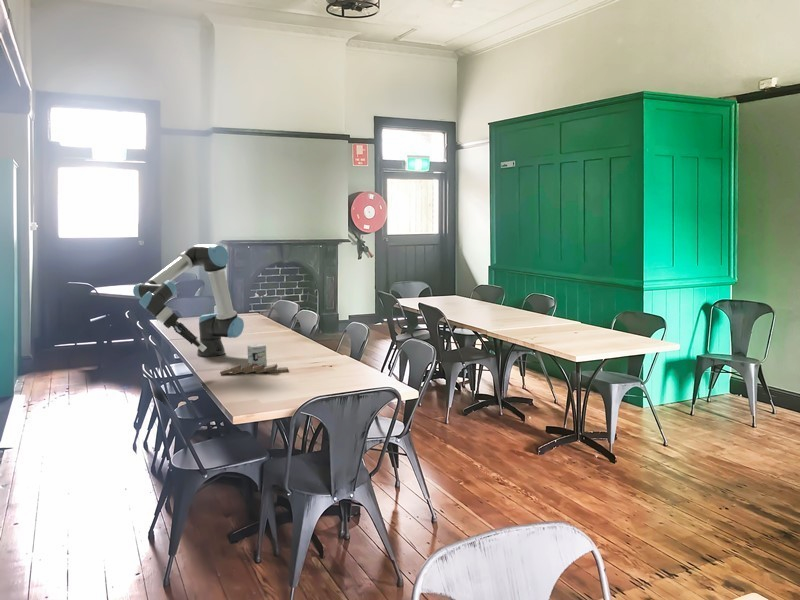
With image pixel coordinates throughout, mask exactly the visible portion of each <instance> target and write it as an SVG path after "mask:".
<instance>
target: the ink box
mask: <svg viewBox="0 0 800 600" xmlns="http://www.w3.org/2000/svg"><path fill="white" fill-rule="evenodd" d="M251 363H252V365H253V366H255V365H258V364H262V363H264V365H265V366H268V364H267V345H266V344H262V343H257V344H250V345H247V365H248V364H251Z"/></svg>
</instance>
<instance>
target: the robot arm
mask: <svg viewBox="0 0 800 600" xmlns="http://www.w3.org/2000/svg"><path fill="white" fill-rule="evenodd" d="M229 259H230V256H229V252H228V250H227V249H226V247H225V246H223V245H221V244H214V243H213V244H209V243H208V244H202V243H200V244H195V245H192V246H190V247H188V248H186V249H185V250H183V251H182V252H180V253H179V254H177V257H176V258H175V259H174V260H173V261H172V262H171V263H169V264H167V266H165V267H163V268H162V269H161V270H160V271H158V272H157V273H156V274H155V275H153V276H152V277H151V278H149V279H148V280H147V281H145V282H144V283H141V282H140V283H137V284H135V285H134V287H133V289H132V292H133V296H134V297H135V298H137V299H139V301H138V303H139V305H140V306H141V307H142V308H143V309H144V310H146V311H147V312H148V313H149V314H150V315H152V316H153V317H154V318H156V321H159V322H160V323H162V324H163V326H164V327H165V328H167V329H170V328H171V327H172V328H173V330H174V332H175V333H177V334H178V335H180V336H181V337H182V338H184V339H185V340H186V341H187V342H189V343H190V345H194V346H195V347H196V348H197V353H196V354H197V356H199V357H215V356H216V357H217V355H218V356H223V355H225V353H226V351H225V347H224V344H223V342H222V338H229V339H232V338H233V339H236V338H238V337H240V336H241V335H242V333H243V332H244V328H245V327H244V326H245V322H244V320H243V318H242V317H240V316H239V315H238V312H237V311H236V310H234V307H233V303H232V298H231V295H230V289H229V286H228V280H227V278H226V277H227V276H226V273H225V269H226V268H227V265H228V263H229ZM200 266H203V269H204V272H205V273H207V274H208V277H209V281H210V282H209V283H210V285H211V289H212V295H213V298H214V302H215V307H216V311H217V313H216V312H214V313H208V314H207V313H206V314H202V315H199V317H198V328H199V330H198V331H199V339H198V336H196V335H195V334H193V332H192V331H191V330H190V329H188V327H186V326H185V325H184V324H183V323H182V322H179V321H178V320H179V318H180V317H179V315H177V314H176V313H175V312H173V310H171V308H169V307H168V305H166V303H167V302H168V301H169V300H170V299H171V298H172V297H173V296H174V295H175V293H176V292H177V290H178V289H177V286H176V284H175V283H174V282H172V281H174V280H175V279H176V278H177V277H179V276H180V275H182V274H183V273H184V272H185V271H187V270H190V269H192V268H194V267H200Z"/></svg>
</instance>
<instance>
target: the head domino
mask: <svg viewBox="0 0 800 600" xmlns="http://www.w3.org/2000/svg"><path fill="white" fill-rule="evenodd" d="M241 366H242V365H241V363H239V364H236V365H231V366H229V367H225V368H222V369H220V371H219V374H220V375H221V376H223V375H226V374H229V373H232V371H235V370H238V369H241Z"/></svg>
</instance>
